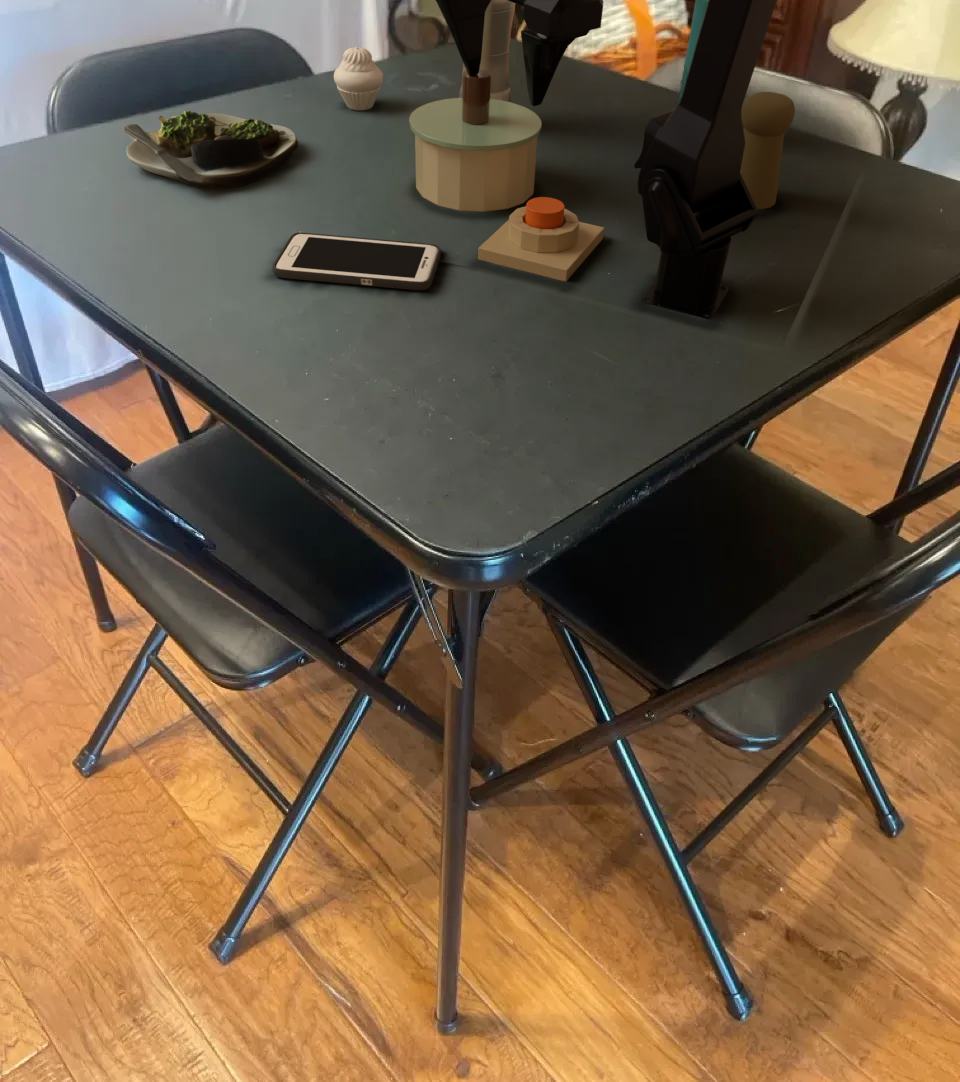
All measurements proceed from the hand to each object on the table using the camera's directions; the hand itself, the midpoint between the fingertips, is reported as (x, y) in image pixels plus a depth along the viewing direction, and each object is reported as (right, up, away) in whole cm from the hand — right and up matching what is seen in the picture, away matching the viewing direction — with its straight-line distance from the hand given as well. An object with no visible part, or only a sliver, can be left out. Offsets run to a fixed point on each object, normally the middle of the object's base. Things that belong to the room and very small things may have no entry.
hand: (504, 89), depth 88 cm
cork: (+27, -7, +12) cm, 30 cm away
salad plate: (-32, -1, +15) cm, 35 cm away
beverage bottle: (+25, +6, +25) cm, 36 cm away
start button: (+4, -13, -1) cm, 14 cm away
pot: (-3, -5, +11) cm, 13 cm away
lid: (-3, -1, +6) cm, 7 cm away
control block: (+4, -15, +1) cm, 16 cm away
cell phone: (-14, -18, -2) cm, 22 cm away
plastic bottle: (-2, +7, +25) cm, 26 cm away
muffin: (-18, +12, +29) cm, 36 cm away
